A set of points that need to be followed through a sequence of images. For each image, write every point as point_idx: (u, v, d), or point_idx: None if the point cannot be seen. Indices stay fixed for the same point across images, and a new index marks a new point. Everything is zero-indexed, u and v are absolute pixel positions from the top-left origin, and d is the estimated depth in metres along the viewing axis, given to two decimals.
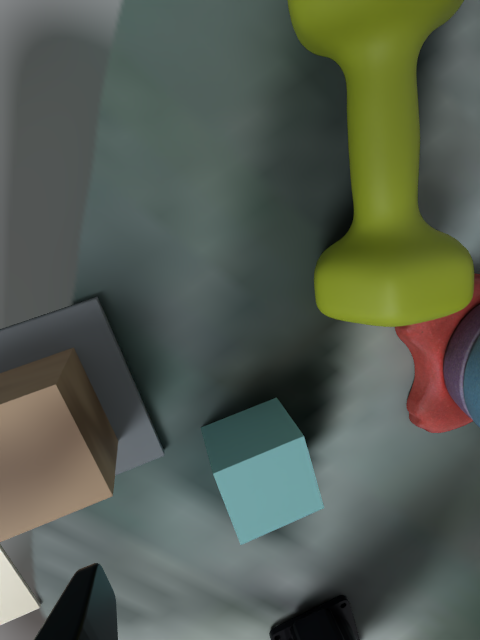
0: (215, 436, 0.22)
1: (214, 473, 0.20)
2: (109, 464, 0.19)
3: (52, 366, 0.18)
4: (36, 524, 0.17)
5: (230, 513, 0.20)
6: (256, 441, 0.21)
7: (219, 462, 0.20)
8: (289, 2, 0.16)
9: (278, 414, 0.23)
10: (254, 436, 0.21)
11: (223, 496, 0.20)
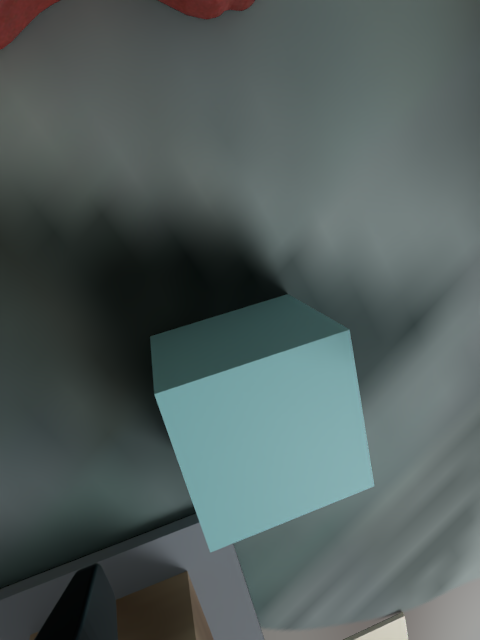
0: None
1: (210, 549, 0.11)
2: None
3: None
4: None
5: (302, 512, 0.11)
6: None
7: None
8: None
9: None
10: None
11: (263, 528, 0.11)
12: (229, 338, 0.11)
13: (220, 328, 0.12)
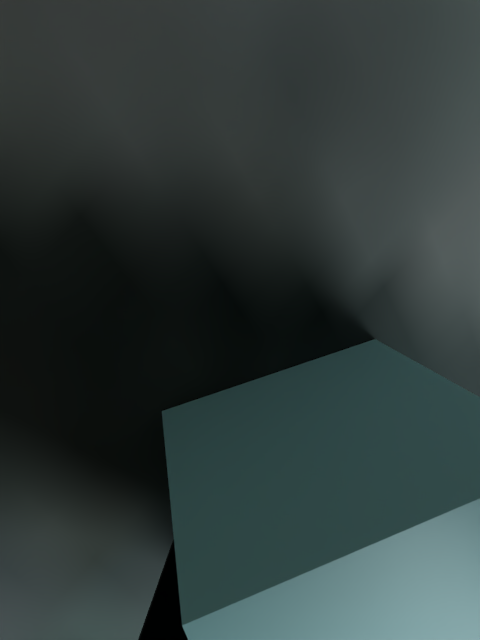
0: None
1: None
2: None
3: None
4: None
5: None
6: None
7: None
8: None
9: None
10: None
11: None
12: (310, 442, 0.06)
13: (283, 410, 0.07)
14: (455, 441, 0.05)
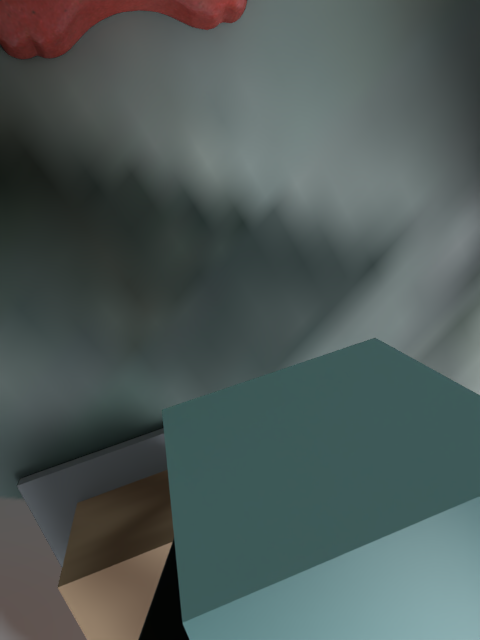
0: None
1: None
2: None
3: None
4: None
5: None
6: None
7: None
8: None
9: None
10: None
11: None
12: (310, 440, 0.06)
13: (284, 408, 0.07)
14: (456, 439, 0.05)
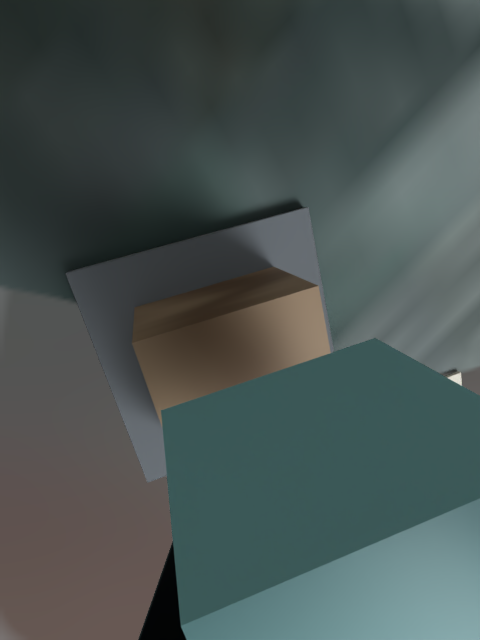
0: None
1: None
2: (283, 283, 0.14)
3: None
4: None
5: None
6: None
7: None
8: None
9: None
10: None
11: None
12: (310, 442, 0.06)
13: (283, 409, 0.07)
14: (456, 440, 0.05)
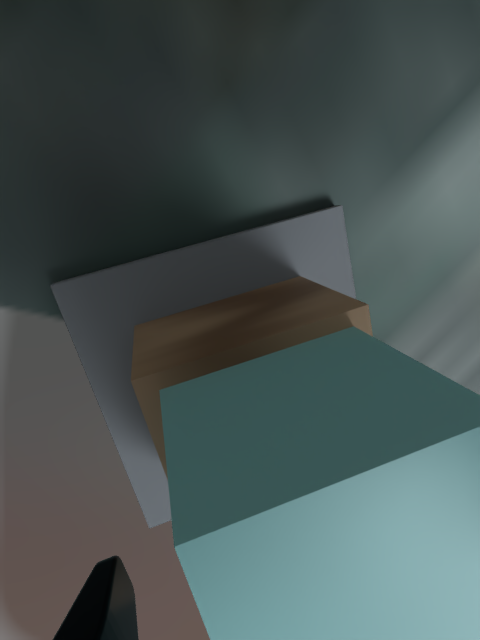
0: None
1: None
2: (318, 299, 0.11)
3: None
4: None
5: None
6: None
7: None
8: None
9: None
10: None
11: None
12: (288, 411, 0.07)
13: (267, 386, 0.08)
14: (411, 406, 0.06)
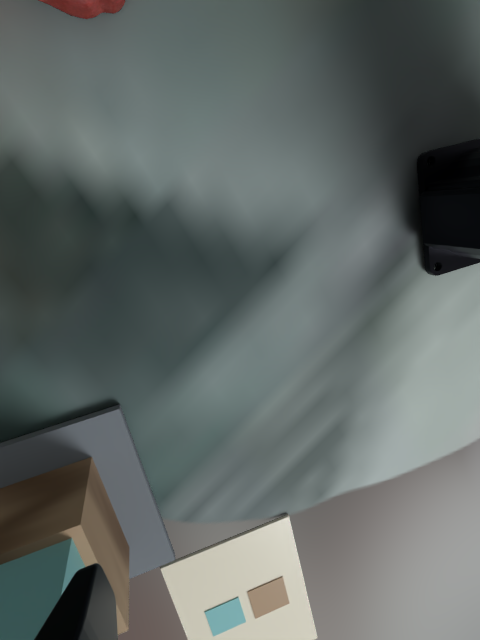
0: None
1: None
2: (68, 504, 0.16)
3: None
4: None
5: None
6: None
7: None
8: None
9: None
10: None
11: None
12: None
13: None
14: None
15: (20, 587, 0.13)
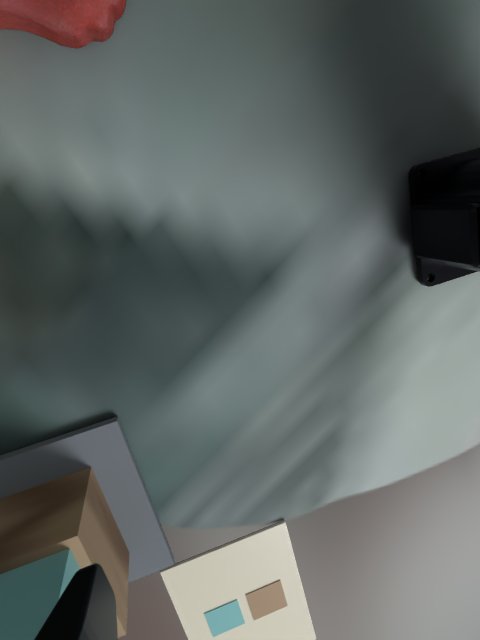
0: None
1: None
2: (67, 515, 0.17)
3: None
4: None
5: None
6: None
7: None
8: None
9: None
10: None
11: None
12: None
13: None
14: None
15: (20, 596, 0.14)
